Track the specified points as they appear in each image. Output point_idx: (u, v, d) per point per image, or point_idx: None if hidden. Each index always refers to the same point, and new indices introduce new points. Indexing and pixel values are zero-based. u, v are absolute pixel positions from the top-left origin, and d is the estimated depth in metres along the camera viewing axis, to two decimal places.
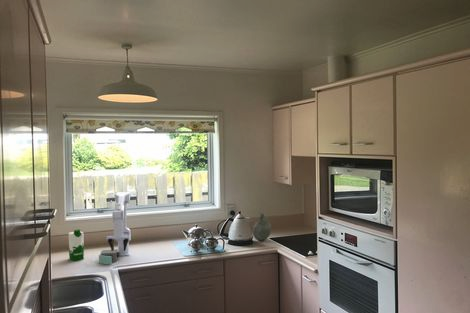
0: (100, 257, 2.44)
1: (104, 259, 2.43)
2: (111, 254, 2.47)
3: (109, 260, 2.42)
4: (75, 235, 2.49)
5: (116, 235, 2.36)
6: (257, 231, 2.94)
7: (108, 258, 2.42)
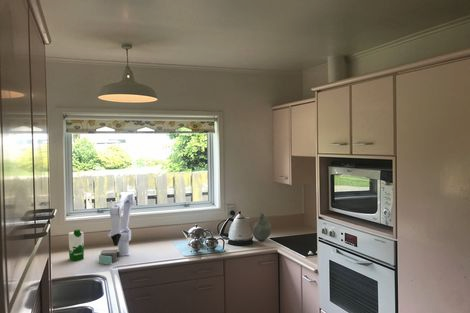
0: (100, 257, 2.44)
1: (104, 259, 2.43)
2: (111, 254, 2.47)
3: (109, 260, 2.42)
4: (75, 235, 2.49)
5: None
6: (257, 231, 2.94)
7: (108, 258, 2.42)
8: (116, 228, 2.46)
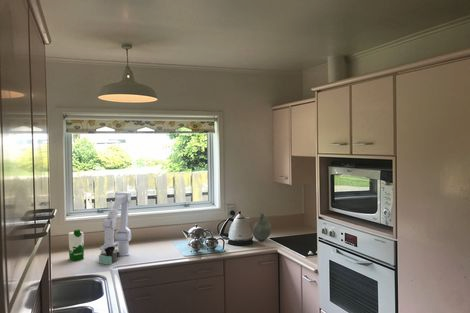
0: (100, 257, 2.44)
1: (104, 259, 2.43)
2: None
3: (109, 260, 2.42)
4: (75, 235, 2.49)
5: None
6: (257, 231, 2.94)
7: (108, 258, 2.42)
8: (109, 241, 2.41)
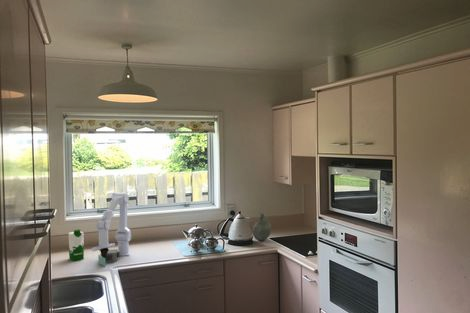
0: (99, 257, 2.44)
1: (100, 260, 2.42)
2: (111, 254, 2.47)
3: (103, 262, 2.39)
4: (75, 235, 2.49)
5: None
6: (257, 231, 2.94)
7: (103, 259, 2.39)
8: (102, 242, 2.38)
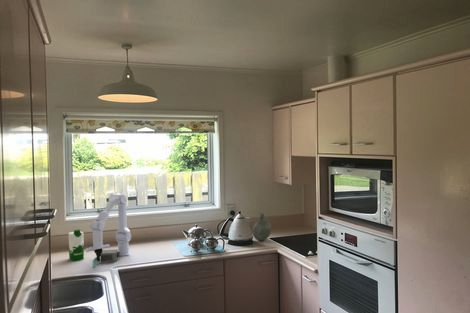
0: None
1: None
2: (111, 254, 2.47)
3: None
4: (75, 235, 2.49)
5: None
6: (257, 231, 2.94)
7: None
8: (95, 243, 2.36)
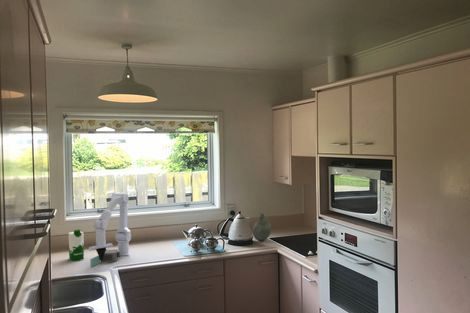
0: None
1: None
2: (111, 254, 2.47)
3: None
4: (75, 235, 2.49)
5: None
6: (257, 231, 2.94)
7: None
8: (98, 242, 2.39)
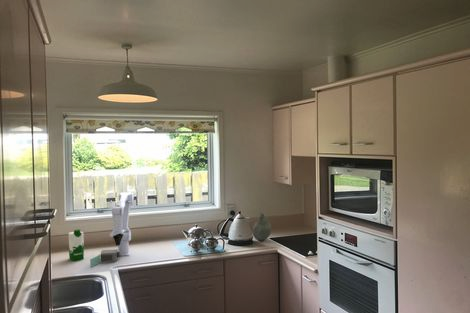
0: None
1: None
2: (111, 254, 2.47)
3: None
4: (75, 235, 2.49)
5: None
6: (257, 231, 2.94)
7: None
8: (118, 228, 2.47)
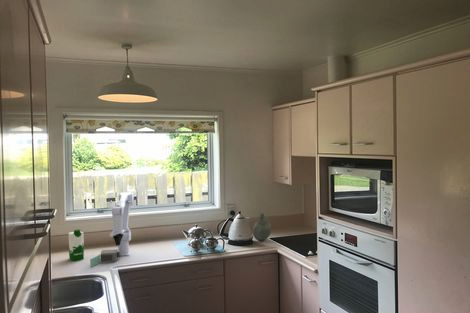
0: None
1: None
2: (111, 254, 2.47)
3: None
4: (75, 235, 2.49)
5: None
6: (257, 231, 2.94)
7: None
8: (118, 228, 2.47)
